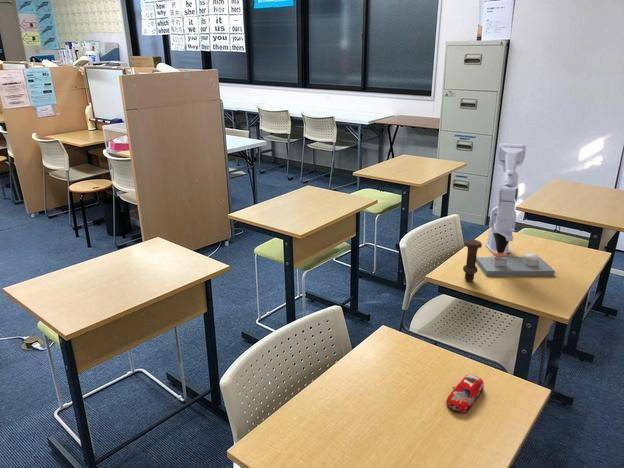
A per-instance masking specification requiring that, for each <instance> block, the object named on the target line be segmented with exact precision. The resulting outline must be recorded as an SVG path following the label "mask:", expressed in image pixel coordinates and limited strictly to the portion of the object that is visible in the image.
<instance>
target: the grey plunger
mask: <svg viewBox="0 0 624 468" xmlns="http://www.w3.org/2000/svg"><path fill="white" fill-rule="evenodd" d="M523 254H524V255H523V256H524V258H525V259H527V260H531V261H535V260H538V257H539V255H538V254H537V253H535V252H534V253H533V252H525V253H523Z"/></svg>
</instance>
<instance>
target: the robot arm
mask: <svg viewBox="0 0 624 468" xmlns="http://www.w3.org/2000/svg"><path fill="white" fill-rule="evenodd" d="M526 152H527V145H526V144H525V143H504V142H500V143H499V146H498V153H497V163H498V164H499V165H501V166H502V173H501V179H500V187H499V188H498V193H497V194H498V195H497V206H495V207H494V208H492V209H491V210H490V217H489V223H488V224H489V225H488V227H489V230H488V236H487V237H488V238H487V243H484V245H485V247H487V249H488V250H489V251H490V252H491V253H492V254H493V251H494V250H497V252H498V253H503V252H504V251H506V252H507V254H509V253H510V254H511V253H512V251H511V249H510V248H509V243H510V242H513V241H514V236H513V233H514V232H515V227H516V221H517V212H516V210H515V209H516V203H517V202H518V199H519V197H518V196H519V185H518V183H519V175H518V172H516V169H517V167H518V166H522V165H523V163H524V160H525V157H526Z"/></svg>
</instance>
